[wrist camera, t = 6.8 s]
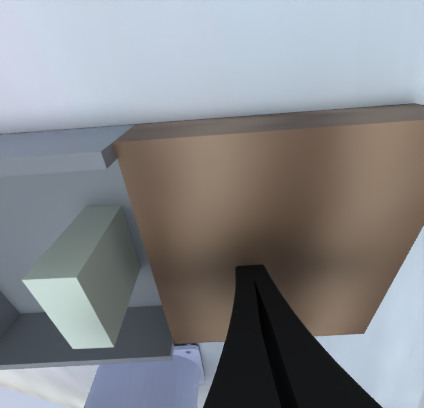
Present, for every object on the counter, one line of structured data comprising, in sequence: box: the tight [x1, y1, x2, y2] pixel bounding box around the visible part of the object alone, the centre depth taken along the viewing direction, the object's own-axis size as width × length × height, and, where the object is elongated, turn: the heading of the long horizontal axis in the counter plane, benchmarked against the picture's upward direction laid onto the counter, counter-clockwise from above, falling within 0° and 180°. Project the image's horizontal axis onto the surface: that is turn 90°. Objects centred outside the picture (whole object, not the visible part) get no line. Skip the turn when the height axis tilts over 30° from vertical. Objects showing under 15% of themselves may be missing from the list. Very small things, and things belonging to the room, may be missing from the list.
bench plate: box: [112, 104, 424, 344], centre depth 13 cm, size 13×14×3 cm
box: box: [0, 124, 174, 370], centre depth 12 cm, size 13×14×4 cm
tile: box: [22, 205, 141, 349], centre depth 11 cm, size 5×5×2 cm
